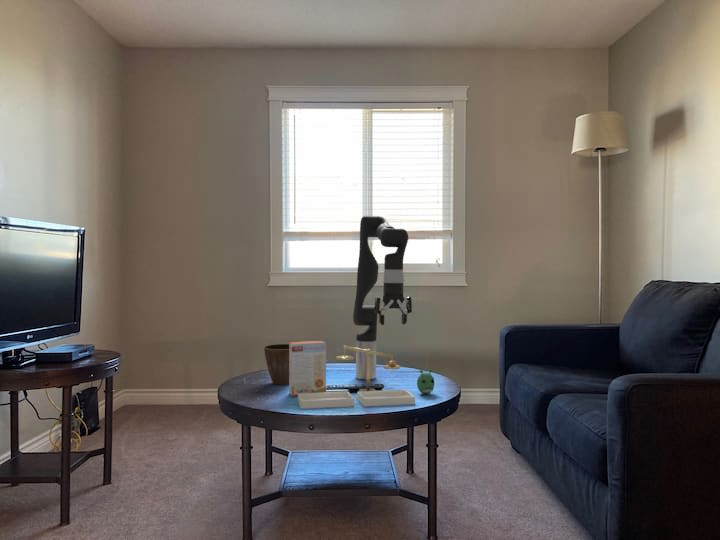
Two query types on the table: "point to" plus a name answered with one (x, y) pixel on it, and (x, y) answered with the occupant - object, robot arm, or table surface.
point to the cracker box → (307, 367)
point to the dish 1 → (325, 399)
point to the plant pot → (278, 363)
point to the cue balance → (390, 363)
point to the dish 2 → (385, 397)
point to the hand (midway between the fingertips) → (392, 324)
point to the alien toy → (425, 382)
